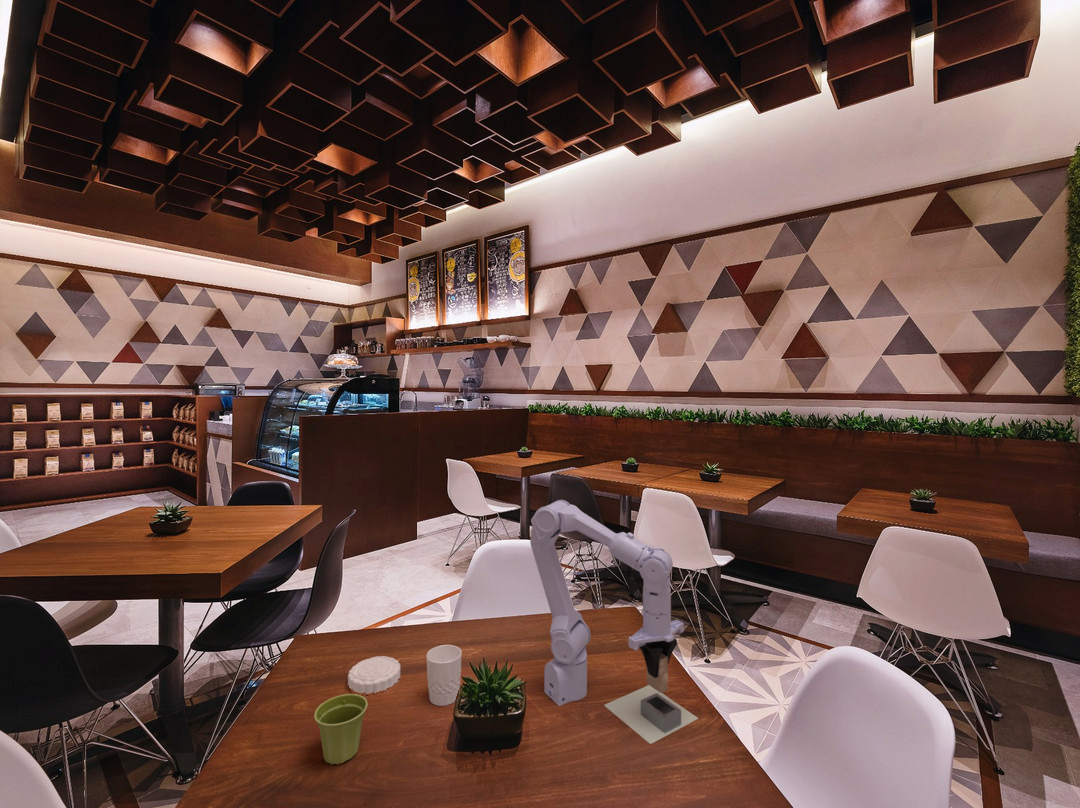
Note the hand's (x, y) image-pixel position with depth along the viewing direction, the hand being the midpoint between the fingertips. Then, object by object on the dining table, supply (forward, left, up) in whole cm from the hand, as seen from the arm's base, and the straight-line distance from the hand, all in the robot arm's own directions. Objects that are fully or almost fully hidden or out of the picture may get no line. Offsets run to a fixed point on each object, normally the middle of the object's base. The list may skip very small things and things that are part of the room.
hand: (657, 673), depth 100 cm
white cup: (-35, +32, -10) cm, 49 cm away
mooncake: (-47, +47, -11) cm, 67 cm away
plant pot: (-58, +26, -10) cm, 65 cm away
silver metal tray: (0, -1, -10) cm, 10 cm away
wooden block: (0, 0, -3) cm, 3 cm away
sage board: (0, +2, -10) cm, 10 cm away
